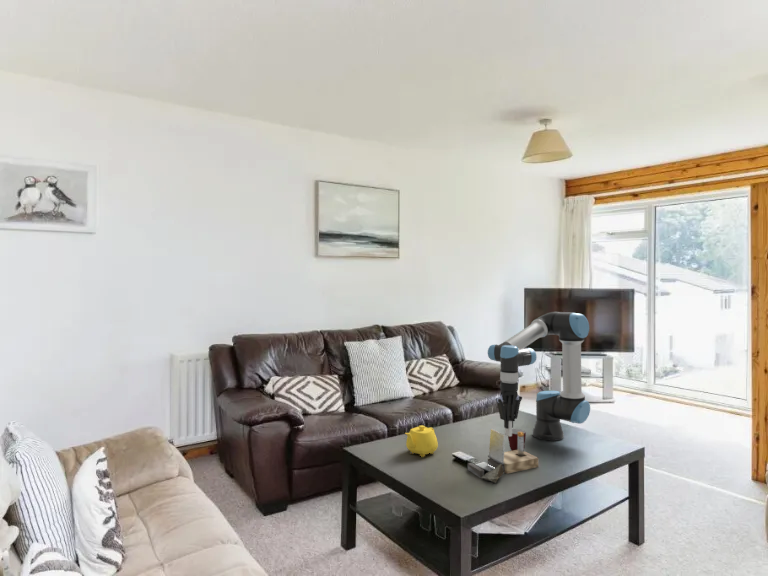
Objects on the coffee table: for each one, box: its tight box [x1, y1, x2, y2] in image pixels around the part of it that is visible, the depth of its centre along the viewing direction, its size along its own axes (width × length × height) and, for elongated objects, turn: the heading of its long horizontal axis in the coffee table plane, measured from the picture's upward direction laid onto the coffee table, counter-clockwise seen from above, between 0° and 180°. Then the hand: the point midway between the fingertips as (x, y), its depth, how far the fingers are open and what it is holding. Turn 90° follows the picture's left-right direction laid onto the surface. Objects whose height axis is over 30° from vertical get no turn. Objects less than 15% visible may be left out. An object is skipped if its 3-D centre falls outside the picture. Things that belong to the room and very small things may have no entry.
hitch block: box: [467, 450, 539, 479], centre depth 216 cm, size 30×12×4 cm, turn 115°
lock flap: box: [487, 428, 506, 465], centre depth 215 cm, size 1×10×13 cm, turn 25°
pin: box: [518, 432, 525, 457], centre depth 220 cm, size 3×3×14 cm
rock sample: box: [481, 464, 504, 484], centre depth 204 cm, size 10×8×9 cm
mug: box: [507, 428, 527, 451], centre depth 233 cm, size 10×8×10 cm
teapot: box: [404, 425, 439, 458], centre depth 234 cm, size 14×20×13 cm
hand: (508, 435), depth 217 cm, fingers closed
